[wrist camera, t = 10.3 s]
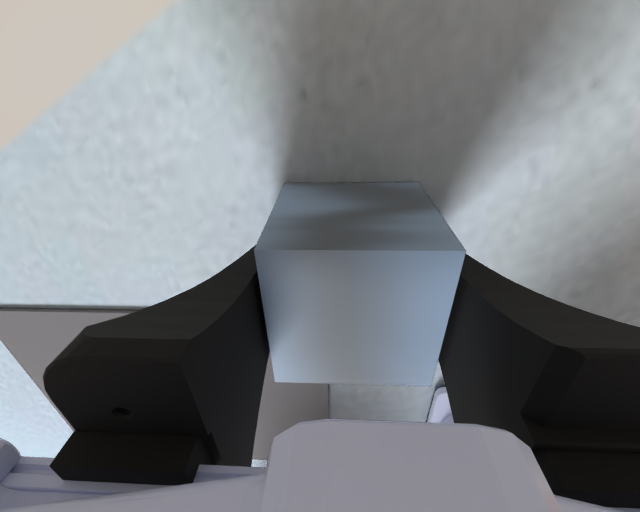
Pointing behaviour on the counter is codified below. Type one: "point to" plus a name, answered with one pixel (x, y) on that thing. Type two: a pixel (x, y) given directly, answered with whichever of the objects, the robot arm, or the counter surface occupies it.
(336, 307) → the slate blue cube
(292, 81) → the counter surface
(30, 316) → the letter mat
